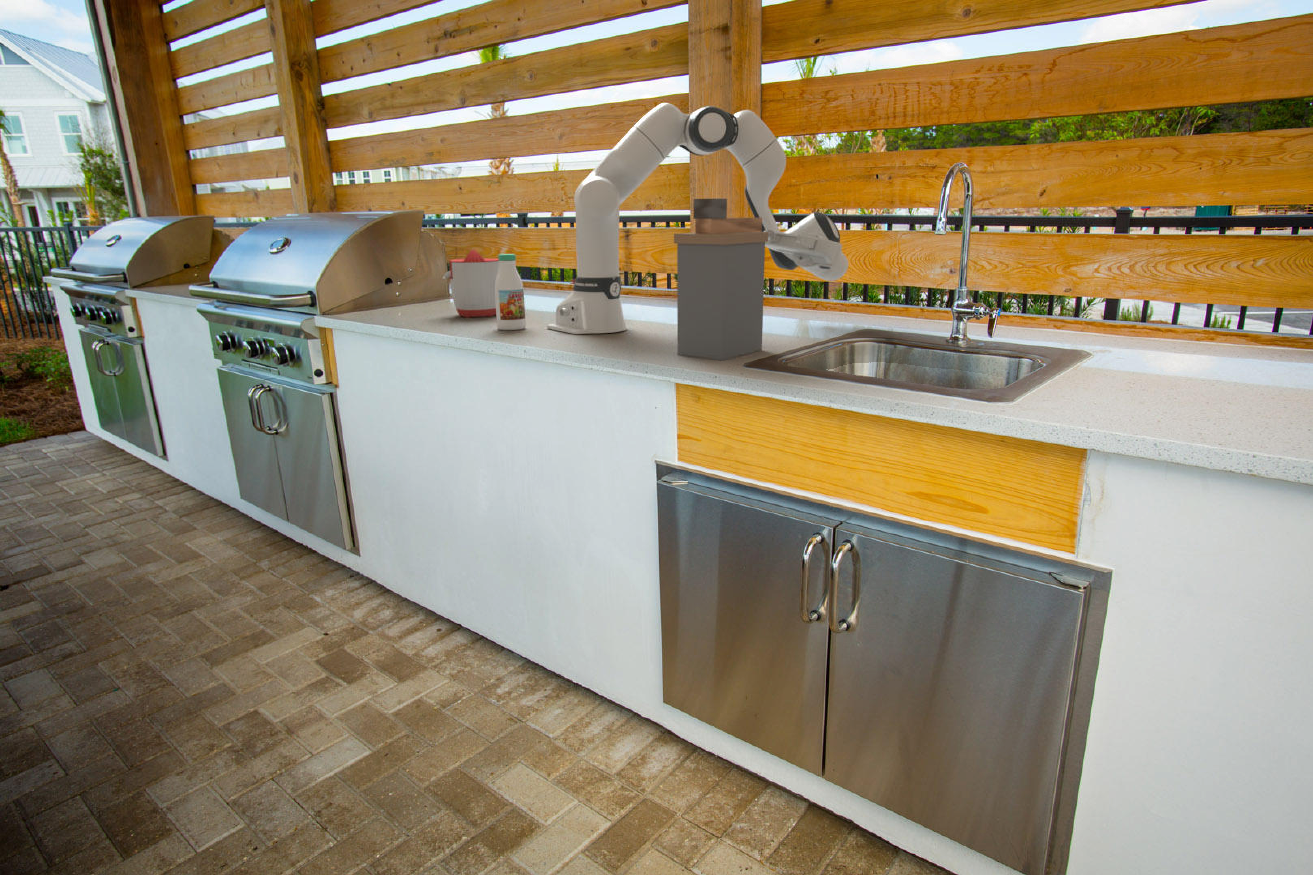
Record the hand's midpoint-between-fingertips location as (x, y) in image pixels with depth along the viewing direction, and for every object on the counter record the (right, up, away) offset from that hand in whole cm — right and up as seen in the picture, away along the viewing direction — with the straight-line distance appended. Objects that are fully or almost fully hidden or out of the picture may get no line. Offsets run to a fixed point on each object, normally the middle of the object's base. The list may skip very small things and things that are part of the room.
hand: (783, 235), depth 186 cm
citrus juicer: (-87, -11, +52) cm, 102 cm away
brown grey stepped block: (-15, -4, -19) cm, 24 cm away
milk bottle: (-71, -19, +25) cm, 77 cm away
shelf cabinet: (-16, -30, -13) cm, 37 cm away
